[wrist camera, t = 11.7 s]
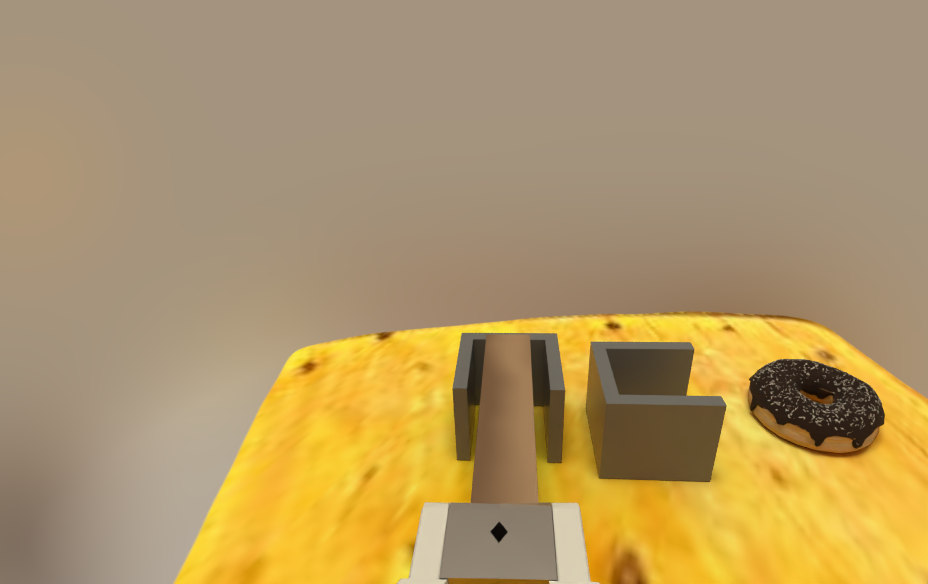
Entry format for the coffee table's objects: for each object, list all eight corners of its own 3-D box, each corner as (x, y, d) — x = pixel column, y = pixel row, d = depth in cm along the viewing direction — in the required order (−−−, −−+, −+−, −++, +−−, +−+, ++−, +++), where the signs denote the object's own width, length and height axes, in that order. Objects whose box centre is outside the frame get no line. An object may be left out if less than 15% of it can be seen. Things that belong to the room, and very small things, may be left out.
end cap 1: (554, 399, 56) (556, 333, 52) (561, 462, 47) (565, 390, 44) (465, 397, 57) (461, 332, 53) (457, 459, 48) (452, 388, 45)
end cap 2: (585, 408, 54) (590, 341, 51) (678, 410, 53) (690, 342, 50) (599, 478, 46) (606, 403, 42) (709, 481, 45) (726, 405, 41)
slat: (528, 420, 53) (529, 334, 49) (535, 618, 35) (538, 510, 31) (488, 419, 53) (486, 334, 49) (475, 614, 36) (470, 508, 31)
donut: (869, 399, 54) (881, 366, 52) (886, 478, 45) (901, 441, 43) (748, 372, 59) (755, 342, 57) (740, 438, 50) (749, 404, 48)
